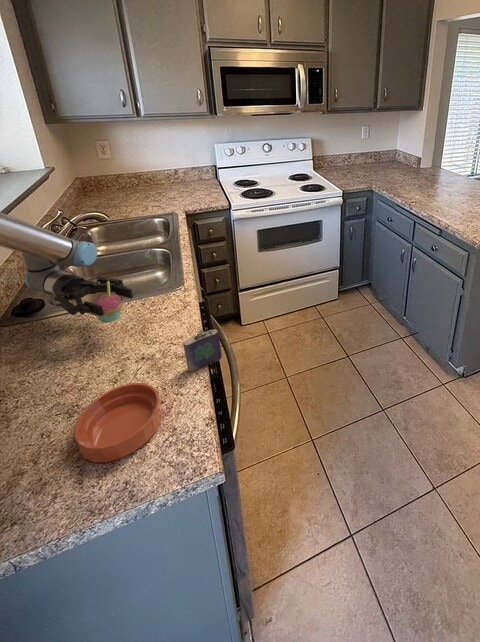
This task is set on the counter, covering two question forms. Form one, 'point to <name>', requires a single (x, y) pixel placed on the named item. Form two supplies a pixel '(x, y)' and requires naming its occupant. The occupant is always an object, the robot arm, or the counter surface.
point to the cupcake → (109, 306)
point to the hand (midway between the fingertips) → (116, 302)
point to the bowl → (118, 422)
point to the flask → (202, 349)
